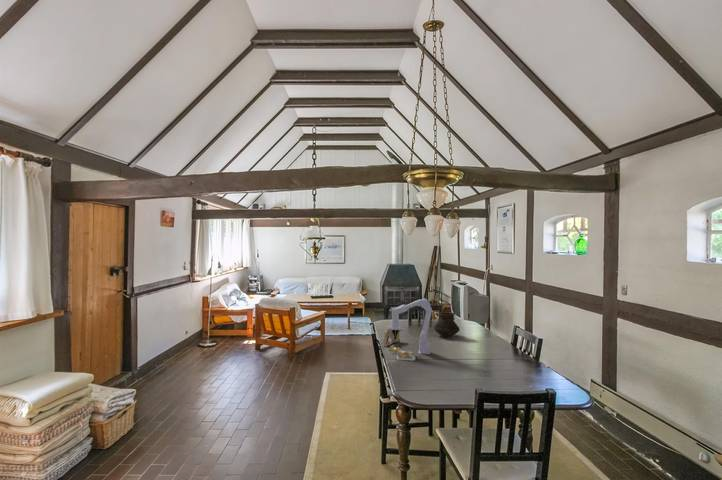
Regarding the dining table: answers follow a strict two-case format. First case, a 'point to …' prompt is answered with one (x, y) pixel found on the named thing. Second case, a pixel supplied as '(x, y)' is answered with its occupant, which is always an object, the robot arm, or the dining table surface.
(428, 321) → the robot arm
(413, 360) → the peg rack
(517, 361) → the dining table surface
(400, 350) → the nut plinth
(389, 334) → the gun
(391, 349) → the ring nut
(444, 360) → the dining table surface
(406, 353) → the maple spanner
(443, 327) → the ceramic pot
